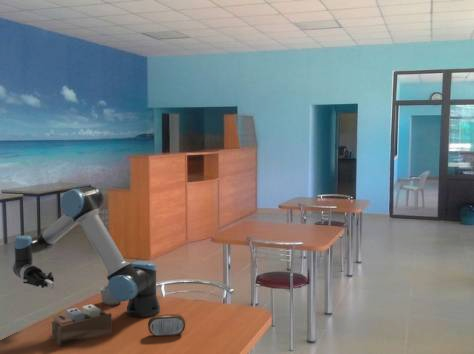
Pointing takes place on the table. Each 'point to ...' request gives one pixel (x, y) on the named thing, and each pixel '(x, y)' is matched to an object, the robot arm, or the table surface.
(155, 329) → the tin
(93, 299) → the table surface
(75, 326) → the wooden compartment box
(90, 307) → the cream dotted block
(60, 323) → the tan rectangular block
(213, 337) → the table surface
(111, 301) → the teacup
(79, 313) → the pale blue knobbed block
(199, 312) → the table surface
